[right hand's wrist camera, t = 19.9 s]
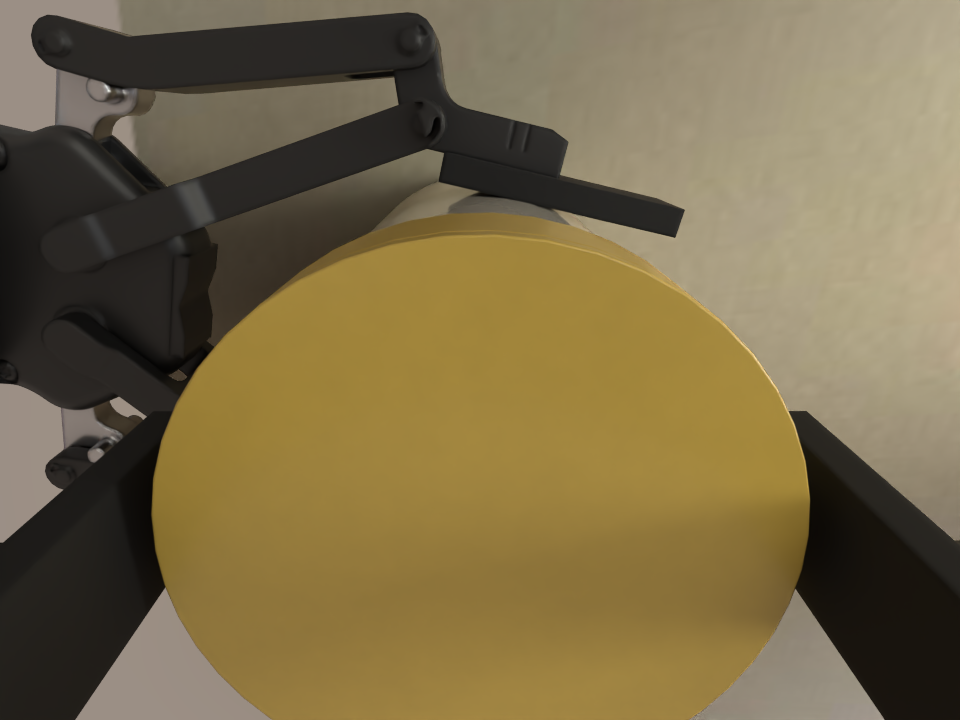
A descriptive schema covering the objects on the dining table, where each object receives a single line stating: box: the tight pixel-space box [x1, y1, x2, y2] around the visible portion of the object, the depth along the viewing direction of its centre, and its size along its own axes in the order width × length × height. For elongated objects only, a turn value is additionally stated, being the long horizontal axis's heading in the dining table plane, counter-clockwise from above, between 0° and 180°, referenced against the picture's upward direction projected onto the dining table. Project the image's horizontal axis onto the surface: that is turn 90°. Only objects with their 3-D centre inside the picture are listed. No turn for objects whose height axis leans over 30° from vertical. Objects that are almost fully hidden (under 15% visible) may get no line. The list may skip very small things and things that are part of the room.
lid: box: [151, 212, 810, 720], centre depth 11 cm, size 11×11×2 cm
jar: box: [371, 181, 593, 234], centre depth 18 cm, size 10×10×16 cm
